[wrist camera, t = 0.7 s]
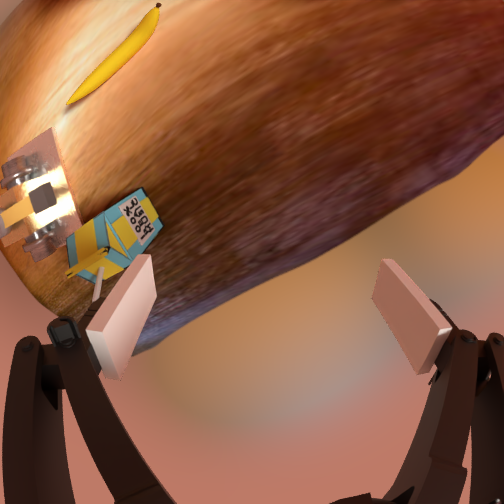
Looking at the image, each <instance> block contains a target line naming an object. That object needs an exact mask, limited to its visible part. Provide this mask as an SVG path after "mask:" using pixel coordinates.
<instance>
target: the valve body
mask: <svg viewBox="0 0 504 504" xmlns="http://www.w3.org/2000/svg"><path fill="white" fill-rule="evenodd" d="M7 159H8V162H6V163H5V164H4V165H2V167H1V168H2V172H3V176H4V178H3V179H2V180H1V181H0V184H1V188H2V189H5V188H7V190H8V191H6V192H5V193H4V194H2V195H1V196H0V208H5V209H6V210H7V209H8V208H10V207H11V206H13V205H15V204H16V203H18V202H19V201H21V200H23V199H24V198H26V197H28V196H29V195H28V192H30V191H32V190H33V189H35V188H37V187H38V186H40V185H42V184H45V183H47V182H51V185H52V188H53V191H54V194H55V197H56V200H57V203H58V204H56V205H54V206H52V207H50V208H48V209H46V210H44V211H42V212H40V213H38V214H36V215H35V213H32V214H30V215H28V216H27V217H25V218H23V219H21V220H19V221H18V222H16V223H14V224H12V229H11V232H10V233H9V234H8V235H6V236H4V237H3V238H1V240H2V243H3V245H4V247H7V246H9V245H11V244H13V243H15V242H17V241H19V240H21V239H23V238H25V241H26V243H25V244H23V245H22V247H23V249H24V252H28V251H30V253H31V255H32V257H33V260H34V262H38V261H40V260H42V259H44V258H46V257H48V256H49V255H51V254H52V253H54V252H55V251H56V250H57V249H56V248H58V247H61V246H64V245H66V238H67V237H68V236H69V235H71V234H72V233H73V232H75V231H76V230H78V229H79V228H80V227H82V226H83V225H84V224H85V223H84V220H83V218H82V215H81V212H80V210H79V207H78V204H77V201H76V198H75V195H74V192H73V189H72V186H71V183H70V180H69V177H68V174H67V170H66V167H65V164H64V160H63V157H62V153H61V149H60V145H59V142H58V138H57V133H56V129H55V127H51V128H49V129H48V130H46V131H45V132H43V133H42V134H40V135H39V136H37V137H36V138H34V139H33V140H32V141H30V142H29V143H27V144H26V145H25V146H23V147H22V148H20V149H19V150H18V151H16V152H15V153H14V154H12V155H11V156H10V157H9V158H7Z"/></svg>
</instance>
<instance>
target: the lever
mask: <svg viewBox="0 0 504 504" xmlns="http://www.w3.org/2000/svg"><path fill="white" fill-rule="evenodd" d="M28 195H29V196H28V197H26V198H24V199H23V200H21V201H19V202H18V203H16V204H15V205H13V206H11V207H10V208H8V209H7V210H6V209H5V208H0V239H1V238H3V237H4V236H6V235H8V234H9V233H10V232H11V229H12V224H14V223H16V222H18V221H19V220H21V219H23V218H25V217H27V216H28V215H30V214H32V213H35V215H36V214H38V213H40V212H42V211H44V210H46V209H48V208H50V207H52V206H54V205H56V204H58V203H57V200H56V197H55V194H54V191H53V188H52V185H51V182H47V183H45V184H42V185H40V186H38V187H37V188H35V189H33V190H32V191H30V192H28Z"/></svg>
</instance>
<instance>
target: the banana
mask: <svg viewBox="0 0 504 504" xmlns="http://www.w3.org/2000/svg"><path fill="white" fill-rule="evenodd" d="M160 6H161V3H157V4H156V7H154V8H153V9H151V10H150V11H149V12H148V13H147V14H146V15H145V17H144V18H143V19H142V20H141V22H140V23H139V25H138V26H137V27H136V29H135V30H134V31H133V32H132V33H131V34H130V35H129V36H128V38H127V39H126V40H125V41H124V42H123V43H122V44H121V45H120V46H118V47H117V48H116V49H115V50H114V51H113V52H112V53H111V54H110V55H109V56H108V57H107V58H106V59H105V60H104V61H103V62H102V63H101V64H100V65H99V66H98V67H97V68H96V69H95V70H94V71H93V72H92V73H91V74H90V75H89V76H88V77H87V78H86V79H85V80H84V82H83V83H82V84H81V85H80V86H79V87H78V89H77V90H76V91H75V92H74V94H73V95H72V96H71V98H70V99H69V100H68V102H67V103H66V105H69V104H71V103H73V102H76V101H77V100H79V99H81V98H83V97H84V96H86V95H88V94H89V93H91V92H92V91H94V90H95V89H97V88H98V87H99V86H101V85H102V84H103V83H104V82H105V81H106V80H108V79H109V78H110V77H111V76H112V75H113V74H114V73H116V72H117V71H118V70H119V69H120V68H121V67H122V66H123V65H124V64H125V63H127V62H128V61H129V60H130V59H131V58H132V57H133V56H134V55H135V54H136V53H137V52H138V51H139V50H140V49H141V48H142V47H143V46H144V44H145V43H146V42H147V41H148V40H149V38H150V37H151V35H152V34H153V32H154V30H155V28H156V26H157V23H158V20H159V7H160Z"/></svg>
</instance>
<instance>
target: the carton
mask: <svg viewBox="0 0 504 504" xmlns="http://www.w3.org/2000/svg"><path fill="white" fill-rule="evenodd" d="M164 226H165V225H164V223H163V222H162V220H161V218H160V216H159V215H158V213H157V211H156V209H155V208H154V206H153V204H152V202H151V201H150V199H149V197H148V195H147V194H146V192H145V190H144V188H143V187H141V188H140V189H138V190H136V191H135V192H133V193H131V194H130V195H128V196H126V197H125V198H123V199H122V200H120V201H119V202H117V203H115V204H114V205H112V206H111V207H109V208H108V209H106V210H105V211H103V212H102V213H100V214H99V215H97V216H96V217H94V218H93V219H91V220H90V221H89V222H87V223H86V224H84V225H83V226H82V227H80V228H79V229H78V230H76V231H75V232H73V233H72V234H71V235H69V236H68V237H67V238H66V246H67V254H68V262H69V270H67V271H66V272H64V273H65V274H66V275H67V277H68V279H69V278H71V277H72V276H74V275H77V276H79V277H81V278H83V279H85V280H87V281H89V282H91V283H93V284H95V289H94V295H93V300H92V302H94V301H96V300H97V299H98V298H99V295H100V289H101V284H102V281H104V280H105V279H107V278H109V277H111V276H113V275H115V274H116V273H118V272H120V271H122V270H124V269H126V268H128V267H129V266H130V264H131V263H132V262H133V260H134V259H135V258H136V256H137V255H138V254H143V253H144V251H145V250H146V249H147V248H148V246H149V245H150V244H151V242H152V241H153V240H154V238H155V237H156V236H157V235H158V233H159V232H160V231H161V230H162V228H163V227H164Z"/></svg>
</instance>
